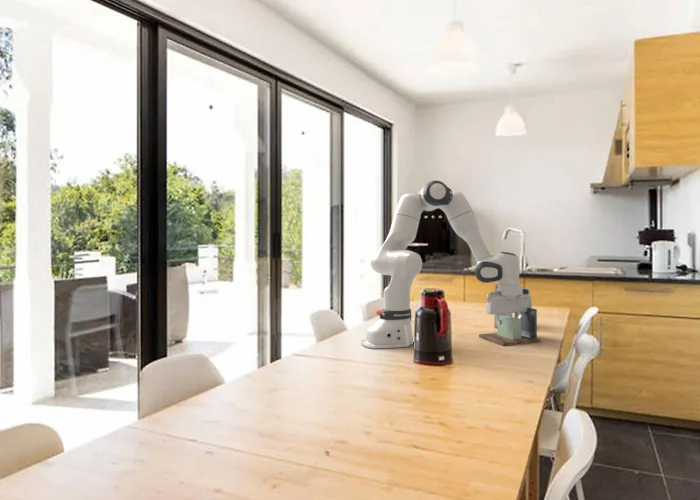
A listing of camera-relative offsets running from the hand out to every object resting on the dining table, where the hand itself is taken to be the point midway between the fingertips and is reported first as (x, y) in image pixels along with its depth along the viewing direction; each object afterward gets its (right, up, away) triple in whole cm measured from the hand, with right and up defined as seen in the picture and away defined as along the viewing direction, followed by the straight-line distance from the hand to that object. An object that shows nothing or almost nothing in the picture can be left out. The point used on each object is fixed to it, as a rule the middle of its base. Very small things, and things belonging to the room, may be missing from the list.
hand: (509, 323), depth 219 cm
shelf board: (0, -7, 0) cm, 7 cm away
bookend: (+6, -5, +2) cm, 9 cm away
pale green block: (0, -6, 0) cm, 6 cm away
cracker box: (+7, -5, +30) cm, 31 cm away
